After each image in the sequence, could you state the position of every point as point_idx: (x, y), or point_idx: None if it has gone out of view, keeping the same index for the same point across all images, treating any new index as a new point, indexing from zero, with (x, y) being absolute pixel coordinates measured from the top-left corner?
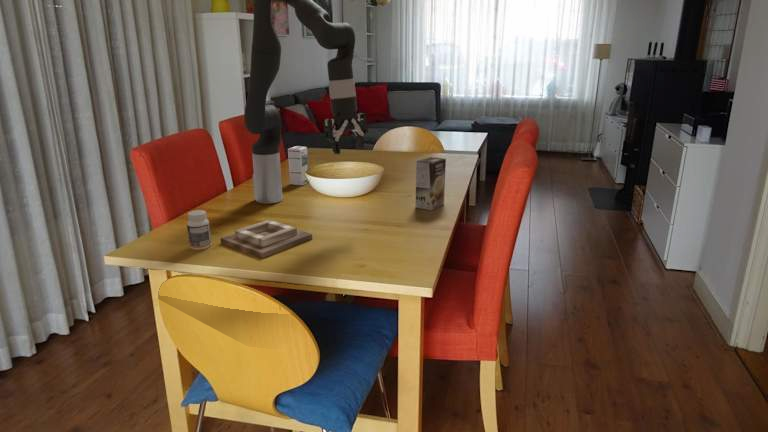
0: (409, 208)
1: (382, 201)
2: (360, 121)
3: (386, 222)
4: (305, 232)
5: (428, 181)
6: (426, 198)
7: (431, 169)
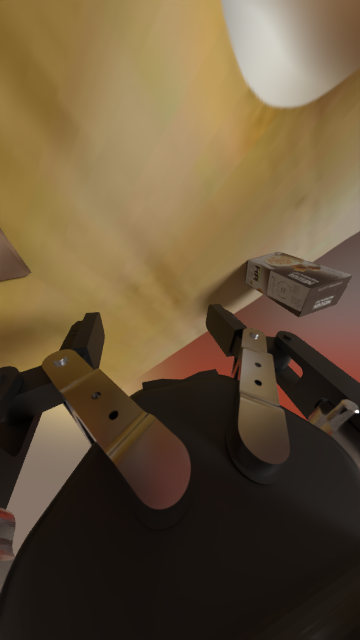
0: (241, 256)
1: (256, 186)
2: (322, 398)
3: (176, 283)
4: (13, 260)
5: (274, 296)
6: (256, 282)
7: (290, 310)
